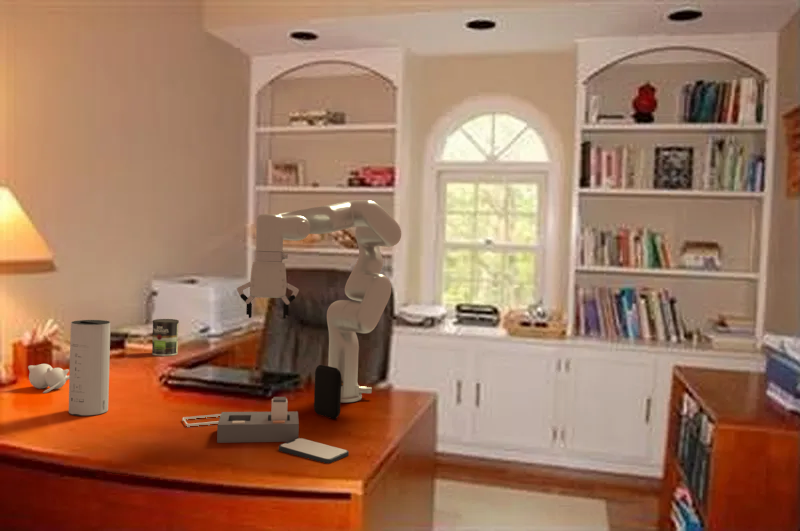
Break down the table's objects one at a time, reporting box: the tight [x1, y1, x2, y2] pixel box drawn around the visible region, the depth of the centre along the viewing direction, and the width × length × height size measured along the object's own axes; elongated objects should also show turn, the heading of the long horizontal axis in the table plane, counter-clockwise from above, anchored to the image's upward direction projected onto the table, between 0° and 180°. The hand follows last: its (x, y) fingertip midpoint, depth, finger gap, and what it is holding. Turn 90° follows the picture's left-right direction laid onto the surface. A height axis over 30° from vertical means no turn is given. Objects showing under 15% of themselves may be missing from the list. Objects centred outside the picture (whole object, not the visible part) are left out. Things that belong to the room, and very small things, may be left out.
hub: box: [216, 410, 300, 444], centre depth 177 cm, size 20×12×5 cm, turn 100°
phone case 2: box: [278, 437, 350, 464], centre depth 165 cm, size 9×2×16 cm
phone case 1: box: [181, 413, 221, 428], centre depth 188 cm, size 7×1×15 cm
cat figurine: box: [27, 363, 70, 394], centre depth 216 cm, size 9×11×12 cm
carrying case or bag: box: [313, 364, 343, 420], centre depth 196 cm, size 11×3×15 cm, turn 51°
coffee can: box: [151, 318, 180, 357], centre depth 283 cm, size 10×10×14 cm
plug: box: [270, 396, 288, 421], centre depth 178 cm, size 4×4×9 cm
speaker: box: [68, 319, 111, 417], centre depth 192 cm, size 11×10×26 cm
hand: (267, 317), depth 194 cm, fingers open, 9 cm apart
